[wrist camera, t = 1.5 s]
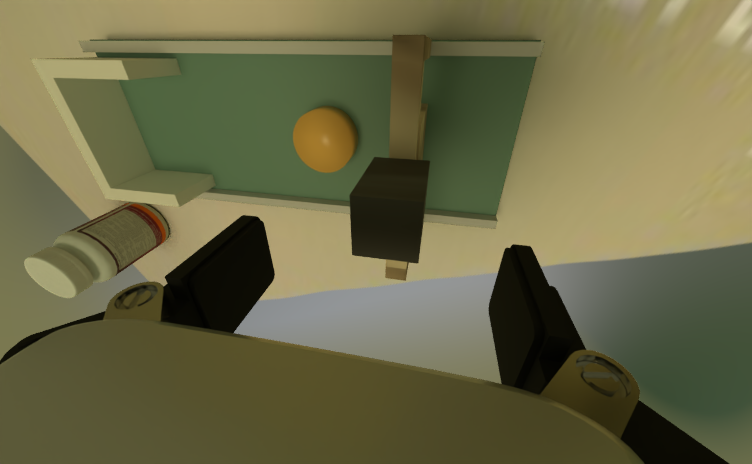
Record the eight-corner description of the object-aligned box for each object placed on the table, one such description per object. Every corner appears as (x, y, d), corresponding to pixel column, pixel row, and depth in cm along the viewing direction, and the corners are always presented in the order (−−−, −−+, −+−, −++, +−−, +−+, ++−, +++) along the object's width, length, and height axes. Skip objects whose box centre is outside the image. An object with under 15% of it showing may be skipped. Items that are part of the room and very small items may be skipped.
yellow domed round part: (298, 105, 24) (287, 110, 23) (356, 105, 23) (349, 110, 22) (307, 163, 27) (298, 171, 25) (359, 165, 26) (354, 174, 24)
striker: (400, 40, 20) (341, 28, 9) (444, 39, 20) (442, 28, 8) (392, 216, 28) (356, 334, 16) (424, 219, 27) (409, 343, 16)
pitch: (106, 40, 26) (19, 37, 21) (534, 40, 20) (567, 37, 15) (165, 185, 34) (112, 211, 28) (491, 216, 28) (502, 256, 22)
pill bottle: (137, 238, 40) (42, 297, 30) (117, 197, 36) (3, 248, 27) (177, 244, 39) (91, 307, 29) (160, 202, 35) (57, 258, 26)
